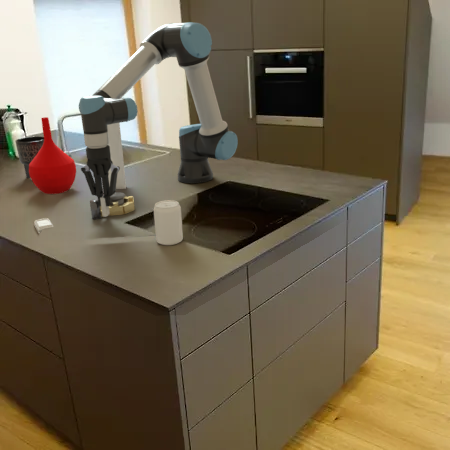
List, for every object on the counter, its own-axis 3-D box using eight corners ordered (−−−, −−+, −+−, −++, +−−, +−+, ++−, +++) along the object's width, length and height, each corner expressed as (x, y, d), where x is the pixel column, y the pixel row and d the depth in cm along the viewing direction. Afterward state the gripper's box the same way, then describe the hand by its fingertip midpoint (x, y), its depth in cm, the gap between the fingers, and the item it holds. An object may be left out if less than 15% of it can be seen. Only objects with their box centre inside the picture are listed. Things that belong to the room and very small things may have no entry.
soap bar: (39, 235, 168) (37, 227, 167) (34, 226, 176) (33, 219, 175) (54, 232, 170) (53, 224, 169) (49, 224, 178) (48, 216, 177)
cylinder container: (121, 192, 209) (112, 116, 198) (99, 191, 211) (89, 117, 200) (129, 185, 217) (122, 113, 207) (108, 185, 219) (100, 113, 209)
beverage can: (156, 237, 162) (153, 200, 158) (182, 235, 163) (180, 198, 158) (155, 247, 155) (152, 209, 150) (183, 245, 155) (180, 207, 151)
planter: (15, 181, 230) (8, 141, 224) (36, 173, 241) (29, 135, 235) (39, 183, 226) (32, 142, 219) (58, 175, 237) (52, 136, 230)
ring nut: (116, 202, 192) (114, 186, 190) (141, 207, 185) (140, 191, 183) (80, 216, 179) (78, 199, 176) (106, 222, 172) (104, 204, 170)
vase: (60, 182, 226) (49, 113, 215) (88, 188, 216) (78, 115, 205) (23, 193, 212) (10, 119, 201) (51, 200, 202) (39, 123, 191)
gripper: (120, 143, 168) (128, 212, 177) (84, 143, 171) (93, 210, 179) (111, 148, 162) (119, 219, 170) (73, 148, 164) (83, 218, 173)
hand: (106, 215), depth 175 cm, fingers closed
